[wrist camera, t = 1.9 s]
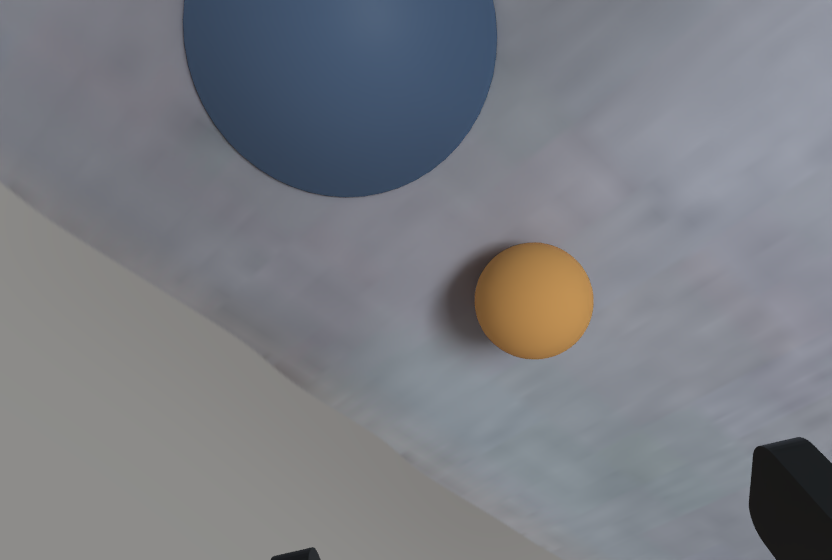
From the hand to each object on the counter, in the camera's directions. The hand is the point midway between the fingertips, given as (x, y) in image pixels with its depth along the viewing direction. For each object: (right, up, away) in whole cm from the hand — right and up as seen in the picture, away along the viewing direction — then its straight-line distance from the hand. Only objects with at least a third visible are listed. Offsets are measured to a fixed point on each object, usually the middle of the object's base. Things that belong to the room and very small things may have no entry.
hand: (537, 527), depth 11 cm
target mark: (-5, +15, +17) cm, 23 cm away
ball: (+4, +3, +20) cm, 21 cm away
